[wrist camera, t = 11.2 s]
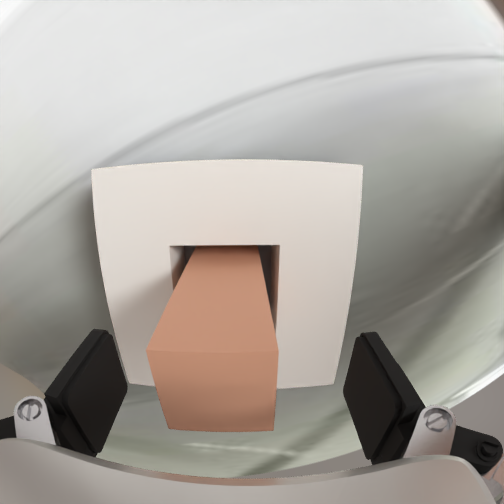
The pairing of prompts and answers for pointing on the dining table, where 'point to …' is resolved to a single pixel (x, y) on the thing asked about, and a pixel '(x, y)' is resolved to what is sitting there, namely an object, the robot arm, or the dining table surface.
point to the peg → (217, 345)
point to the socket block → (233, 233)
